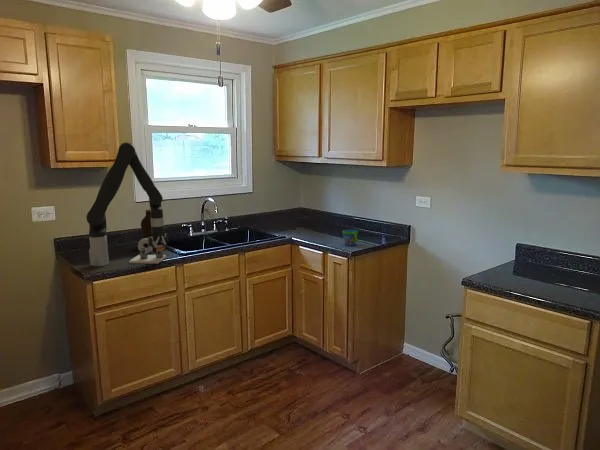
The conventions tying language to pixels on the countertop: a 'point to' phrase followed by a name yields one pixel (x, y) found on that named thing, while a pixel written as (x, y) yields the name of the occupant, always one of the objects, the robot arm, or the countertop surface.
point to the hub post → (159, 254)
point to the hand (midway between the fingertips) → (159, 251)
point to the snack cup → (350, 237)
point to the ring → (160, 248)
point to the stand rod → (143, 254)
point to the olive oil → (146, 227)
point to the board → (149, 260)
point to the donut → (142, 242)
